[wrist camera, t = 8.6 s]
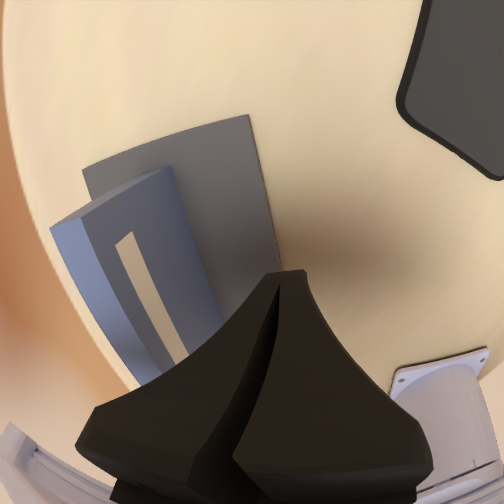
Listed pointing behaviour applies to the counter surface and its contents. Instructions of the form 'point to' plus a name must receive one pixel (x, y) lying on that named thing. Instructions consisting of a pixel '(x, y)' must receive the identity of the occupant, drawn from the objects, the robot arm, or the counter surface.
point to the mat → (210, 201)
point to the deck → (141, 273)
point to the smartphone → (458, 80)
